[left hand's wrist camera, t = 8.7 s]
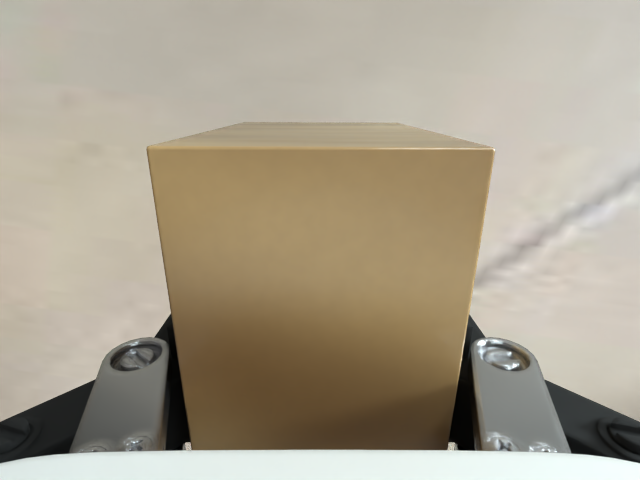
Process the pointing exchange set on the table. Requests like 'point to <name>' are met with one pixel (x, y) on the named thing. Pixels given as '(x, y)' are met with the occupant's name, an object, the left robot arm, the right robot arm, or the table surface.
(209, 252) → the bar
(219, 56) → the table surface
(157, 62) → the table surface
